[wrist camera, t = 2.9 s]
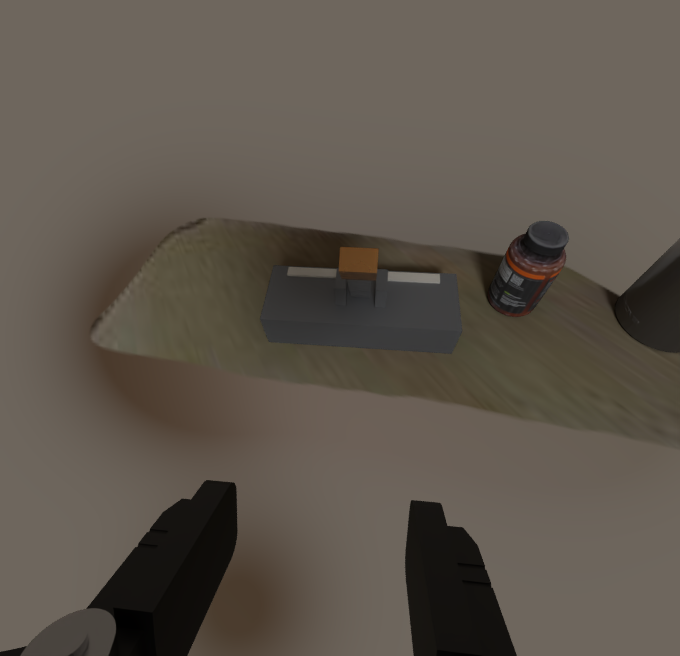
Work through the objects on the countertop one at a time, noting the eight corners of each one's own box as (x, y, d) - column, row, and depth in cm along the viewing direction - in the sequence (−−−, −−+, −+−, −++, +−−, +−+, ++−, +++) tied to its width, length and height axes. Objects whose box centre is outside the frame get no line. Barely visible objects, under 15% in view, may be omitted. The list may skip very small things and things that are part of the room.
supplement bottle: (533, 286, 47) (578, 218, 38) (534, 323, 44) (584, 258, 35) (486, 278, 48) (519, 210, 39) (484, 314, 45) (519, 249, 36)
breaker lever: (374, 283, 41) (378, 248, 26) (373, 298, 41) (377, 273, 26) (349, 281, 41) (340, 246, 26) (348, 297, 41) (338, 271, 26)
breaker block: (446, 299, 47) (462, 256, 40) (451, 353, 42) (469, 315, 36) (280, 290, 48) (268, 247, 42) (268, 341, 44) (253, 303, 37)
